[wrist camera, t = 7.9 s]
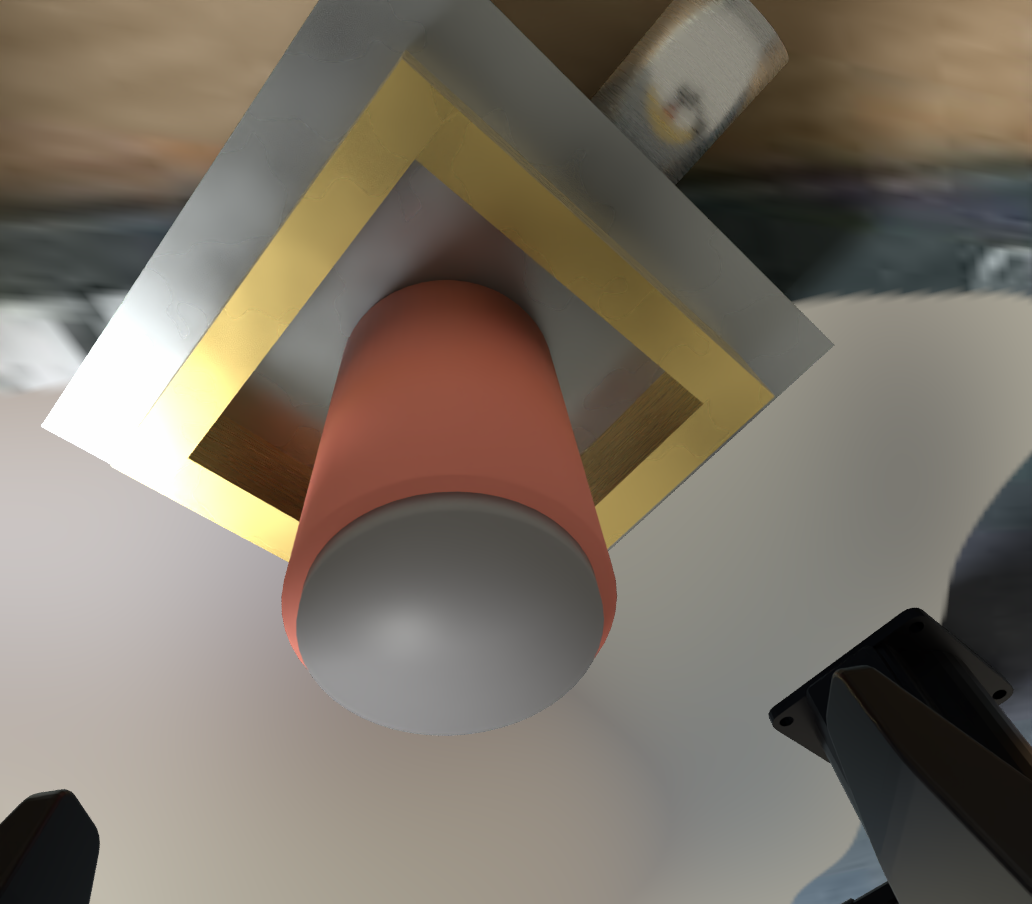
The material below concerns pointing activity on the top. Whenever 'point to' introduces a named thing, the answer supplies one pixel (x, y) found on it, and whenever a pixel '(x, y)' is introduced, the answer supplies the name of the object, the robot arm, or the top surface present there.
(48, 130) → the top surface
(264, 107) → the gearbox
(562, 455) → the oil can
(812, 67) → the top surface
